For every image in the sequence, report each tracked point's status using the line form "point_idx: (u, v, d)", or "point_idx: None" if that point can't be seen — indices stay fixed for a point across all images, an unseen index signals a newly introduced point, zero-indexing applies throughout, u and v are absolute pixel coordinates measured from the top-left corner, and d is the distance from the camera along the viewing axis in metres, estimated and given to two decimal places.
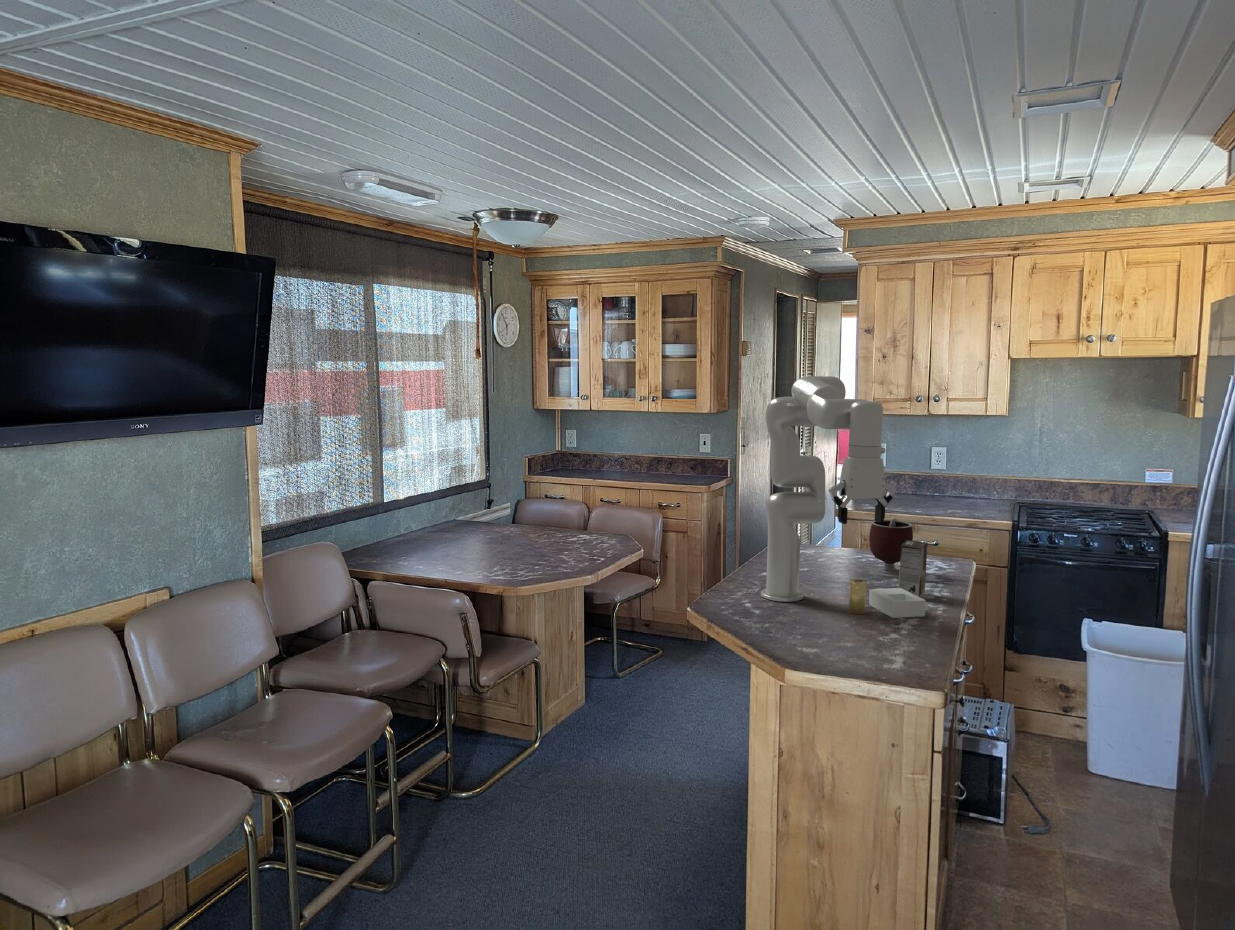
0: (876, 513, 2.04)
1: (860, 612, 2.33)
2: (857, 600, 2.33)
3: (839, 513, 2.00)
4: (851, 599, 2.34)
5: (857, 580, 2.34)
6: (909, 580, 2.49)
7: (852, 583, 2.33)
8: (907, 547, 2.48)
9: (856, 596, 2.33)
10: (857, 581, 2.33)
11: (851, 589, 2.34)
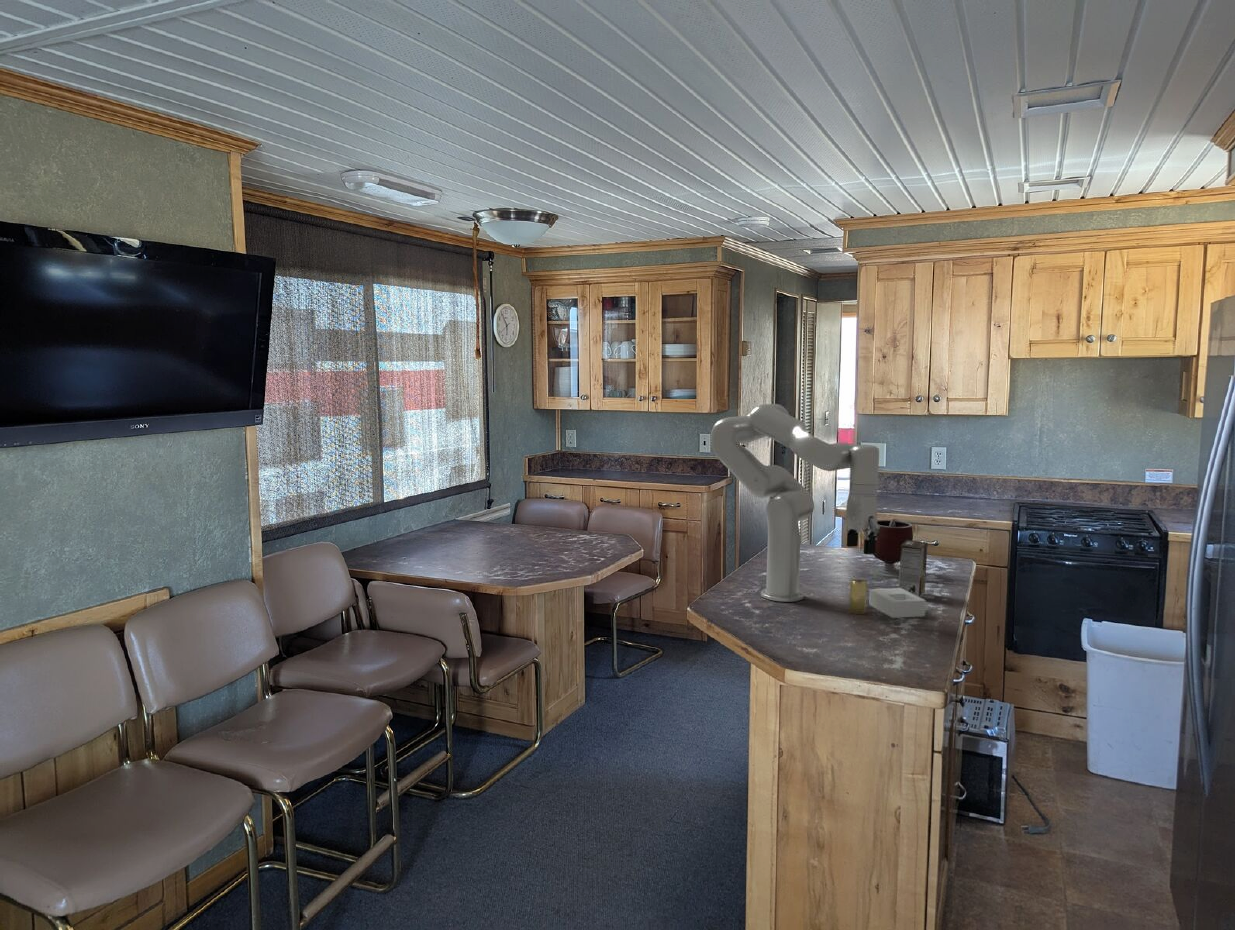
0: (850, 539, 2.37)
1: (860, 612, 2.33)
2: (857, 600, 2.33)
3: (871, 546, 2.27)
4: (851, 599, 2.34)
5: (857, 580, 2.34)
6: (909, 580, 2.49)
7: (852, 583, 2.33)
8: (907, 547, 2.48)
9: (856, 596, 2.33)
10: (857, 581, 2.33)
11: (851, 589, 2.34)
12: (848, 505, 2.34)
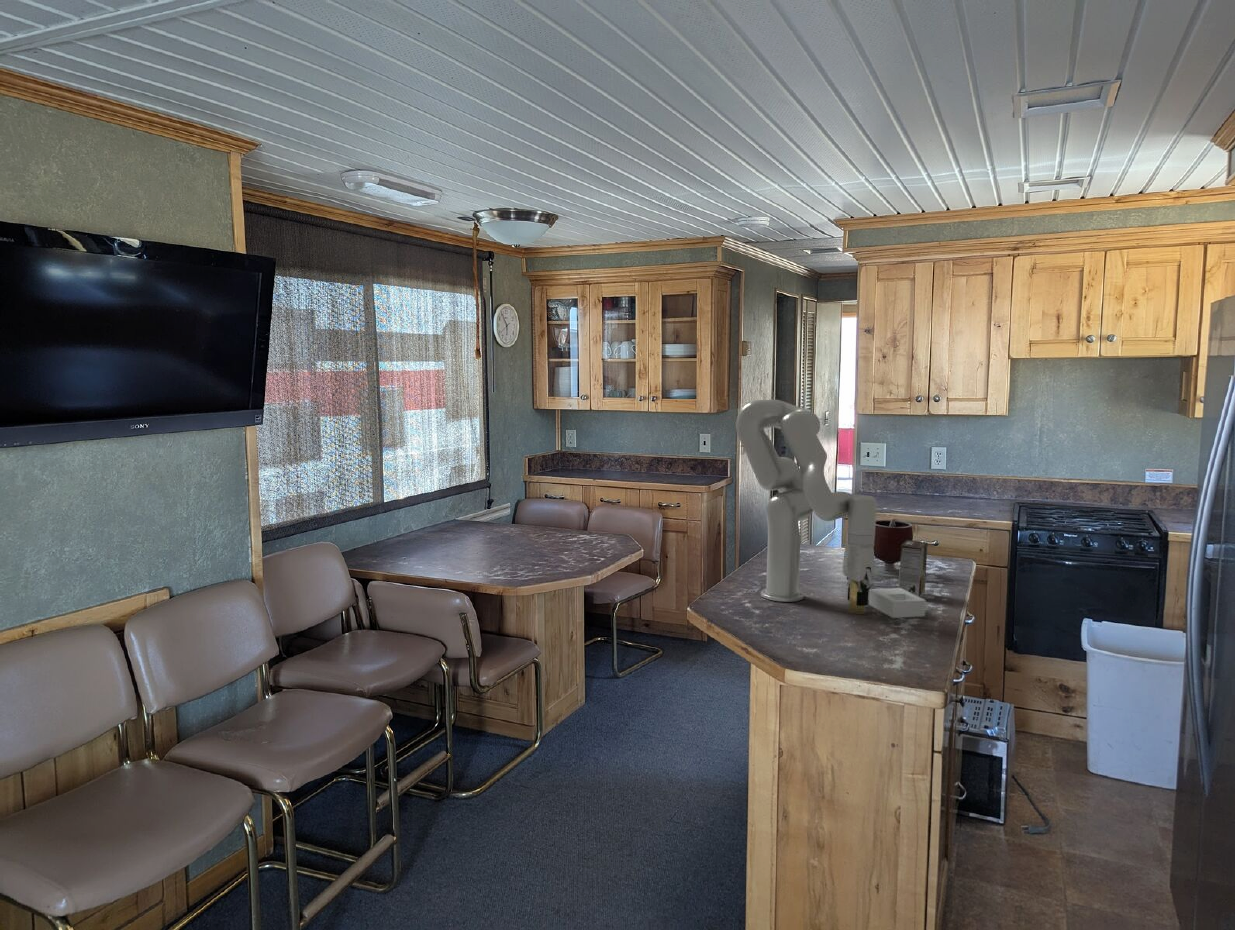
0: None
1: (860, 612, 2.33)
2: None
3: (864, 598, 2.31)
4: (851, 599, 2.34)
5: None
6: (909, 580, 2.49)
7: (852, 583, 2.33)
8: (907, 547, 2.48)
9: (856, 596, 2.33)
10: None
11: (851, 589, 2.34)
12: (845, 554, 2.36)
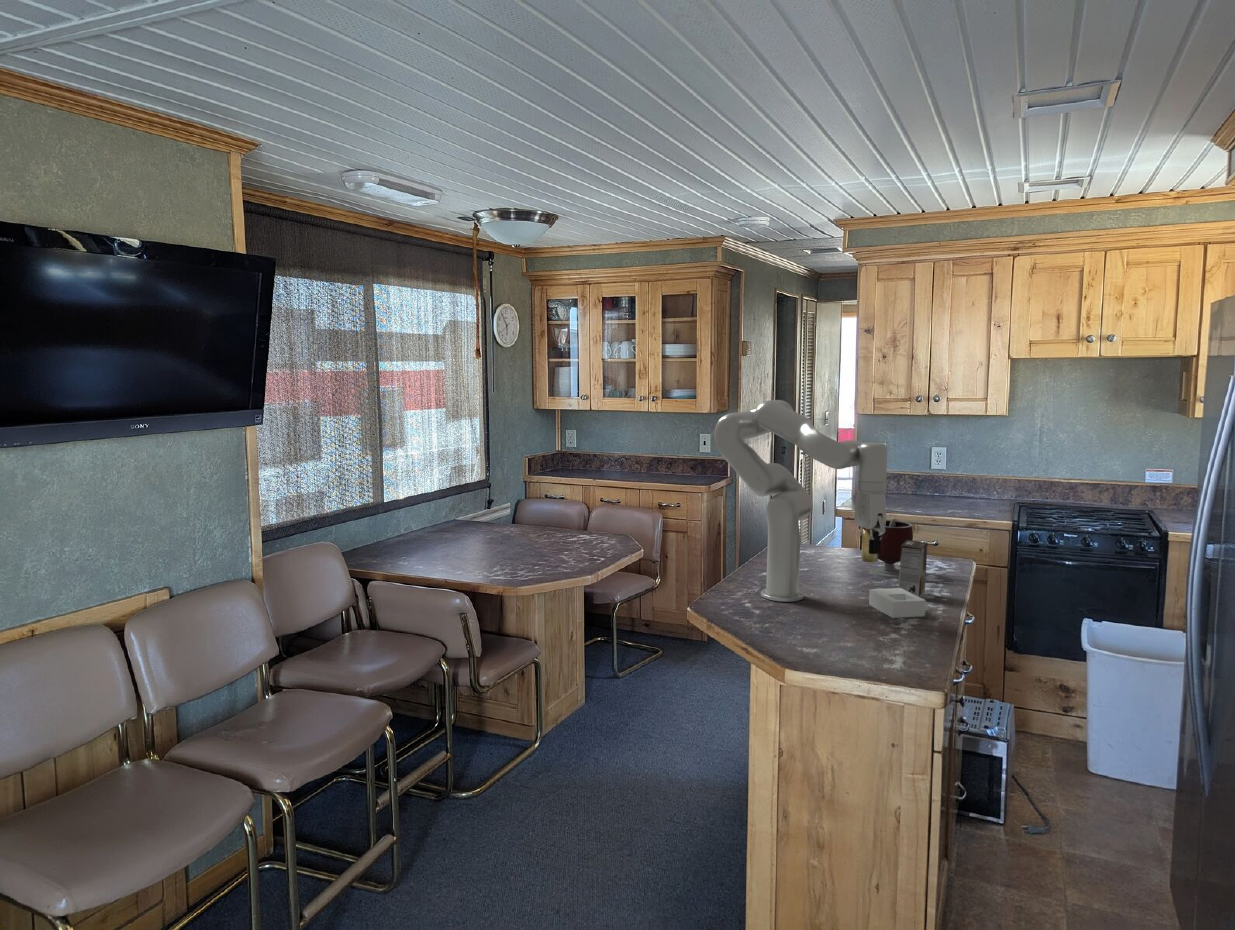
0: None
1: (873, 560, 2.31)
2: None
3: (876, 545, 2.29)
4: (863, 548, 2.32)
5: None
6: (909, 580, 2.49)
7: (864, 531, 2.31)
8: (907, 547, 2.48)
9: (868, 545, 2.31)
10: (869, 529, 2.31)
11: (863, 537, 2.32)
12: (857, 503, 2.34)
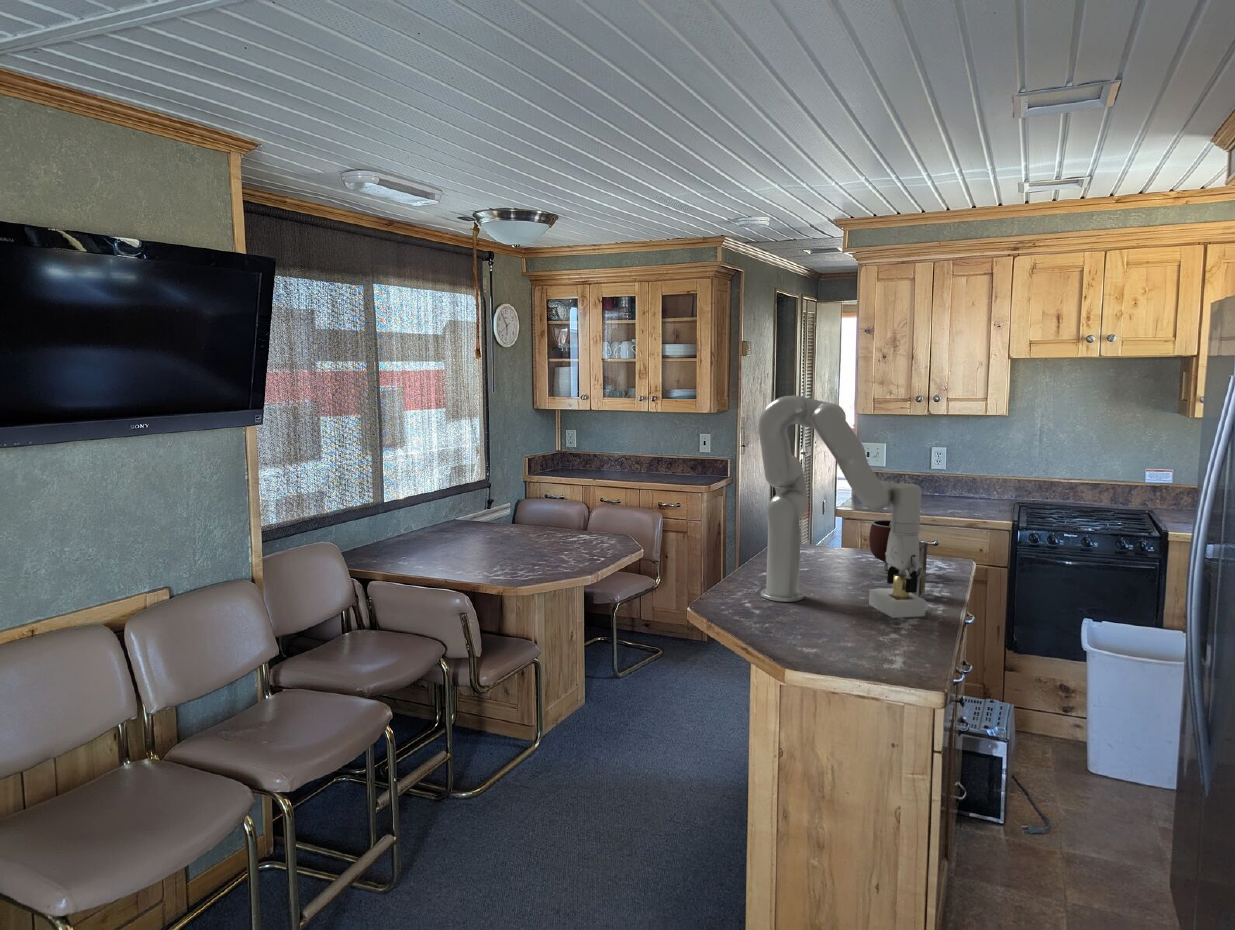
0: (891, 577, 2.38)
1: None
2: (901, 595, 2.33)
3: (913, 584, 2.29)
4: (894, 594, 2.34)
5: (900, 575, 2.34)
6: None
7: (895, 578, 2.33)
8: None
9: (899, 592, 2.33)
10: (900, 576, 2.33)
11: (894, 584, 2.34)
12: (889, 543, 2.35)
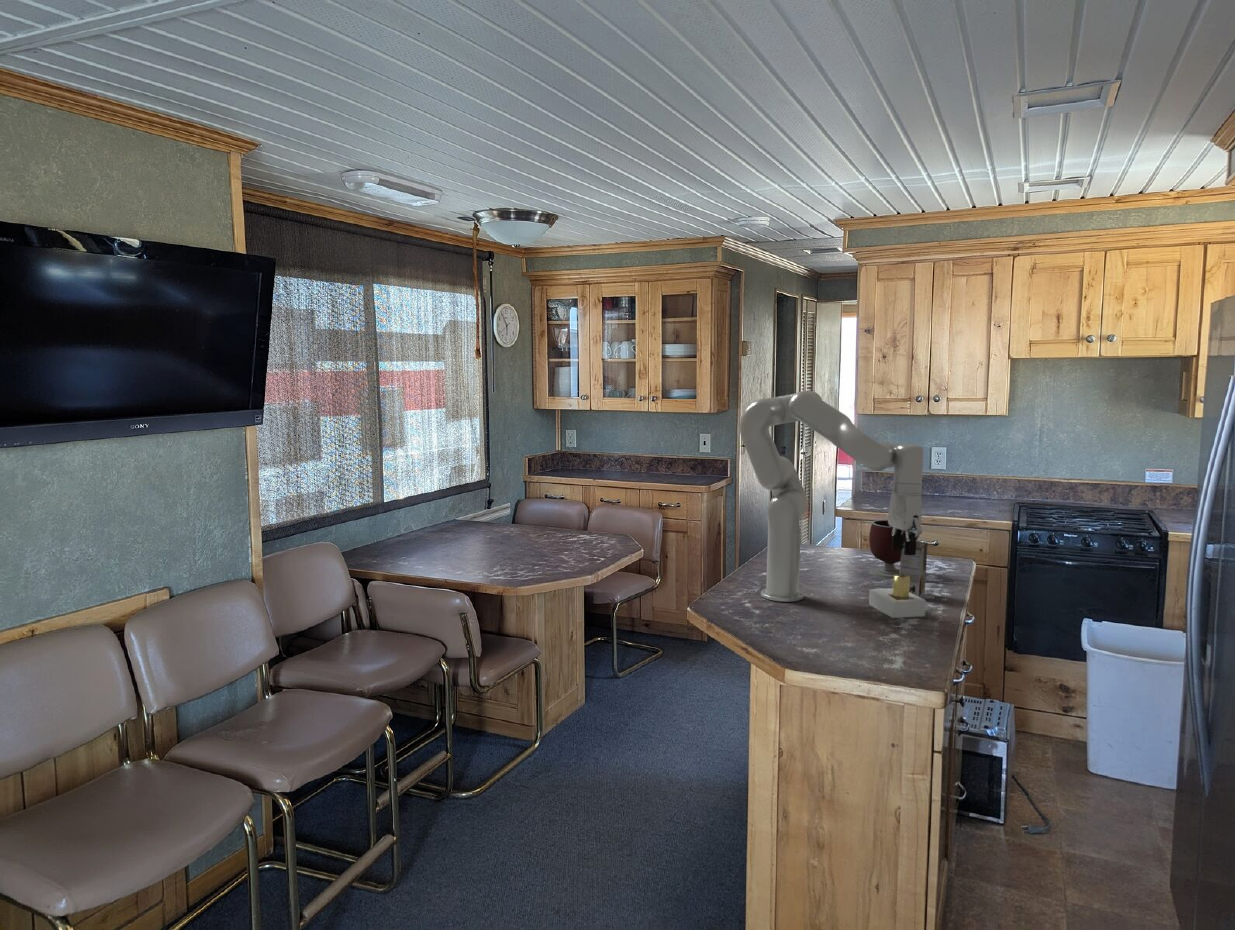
0: (896, 543, 2.35)
1: None
2: (901, 595, 2.33)
3: (912, 547, 2.29)
4: (894, 594, 2.34)
5: (900, 575, 2.34)
6: None
7: (895, 578, 2.33)
8: None
9: (899, 592, 2.33)
10: (900, 576, 2.33)
11: (894, 584, 2.34)
12: (891, 504, 2.34)
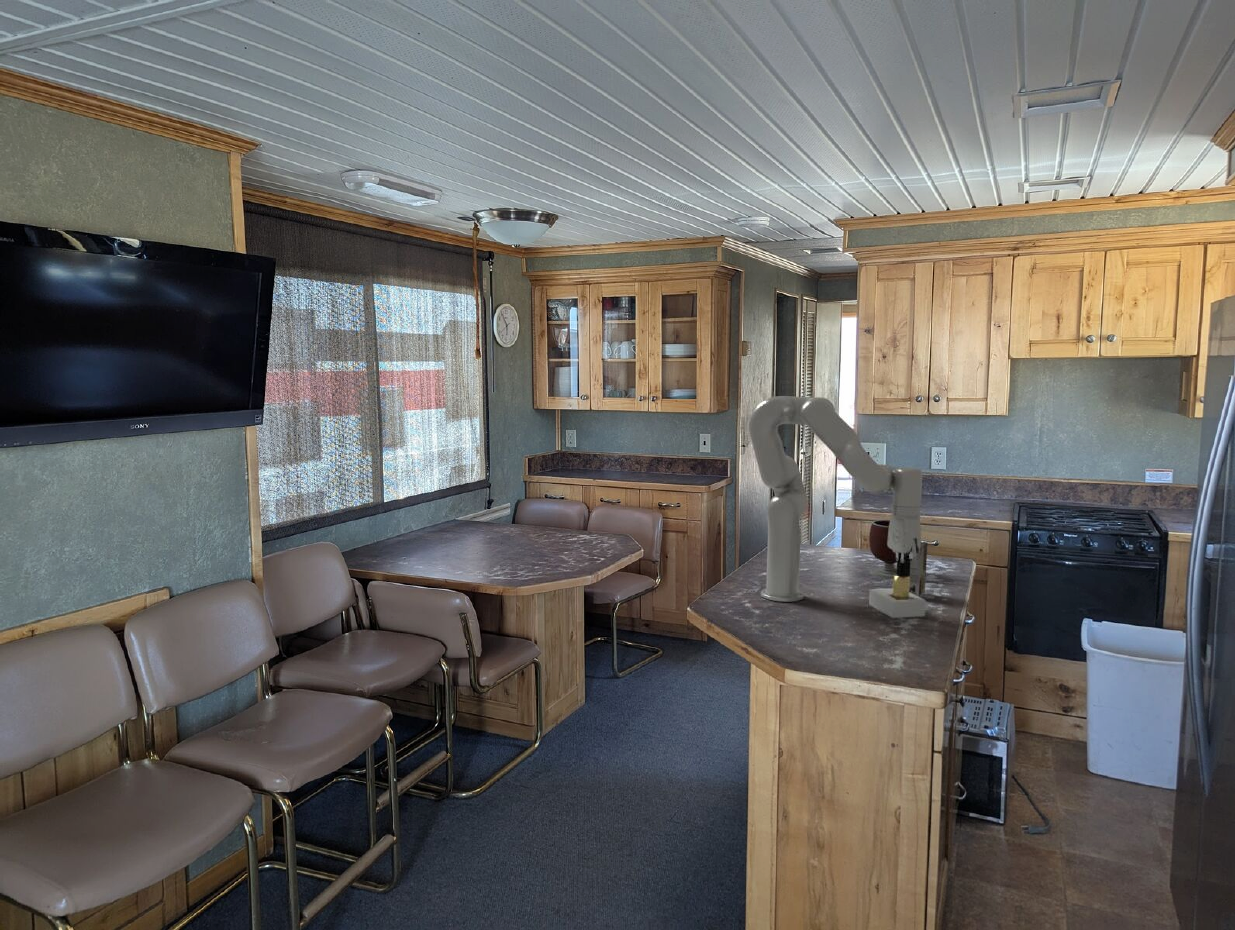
0: None
1: None
2: (901, 595, 2.33)
3: (906, 568, 2.32)
4: (894, 594, 2.34)
5: None
6: None
7: (896, 578, 2.33)
8: None
9: (899, 592, 2.33)
10: None
11: (894, 584, 2.34)
12: (890, 527, 2.35)
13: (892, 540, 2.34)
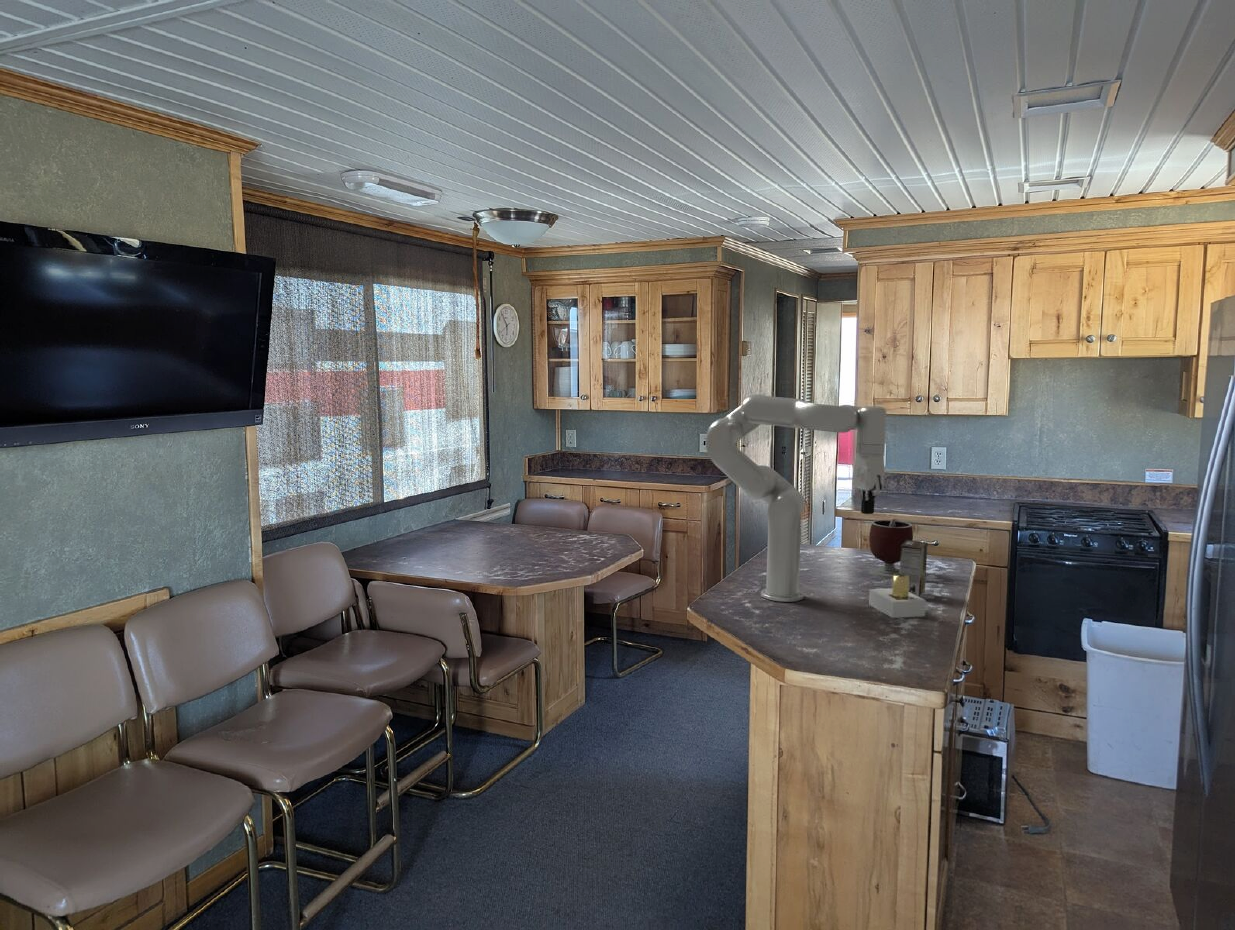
0: None
1: None
2: (900, 595, 2.33)
3: (870, 506, 2.37)
4: (894, 594, 2.34)
5: (899, 575, 2.34)
6: (909, 580, 2.49)
7: (895, 578, 2.33)
8: (907, 547, 2.48)
9: (899, 591, 2.33)
10: (900, 576, 2.33)
11: (894, 584, 2.34)
12: (855, 465, 2.40)
13: (857, 478, 2.39)
